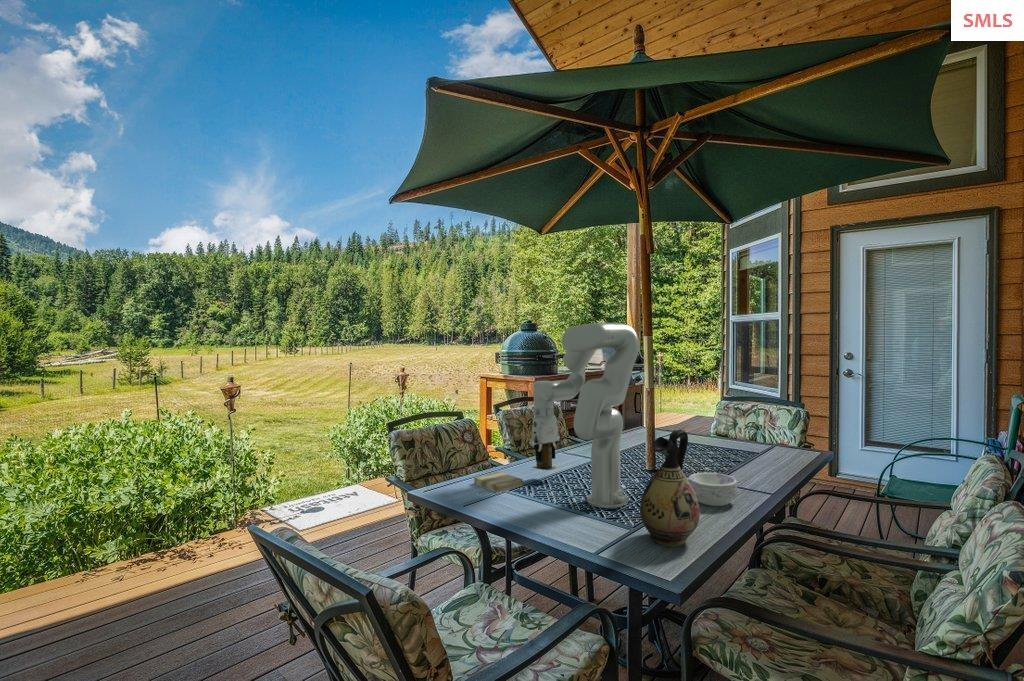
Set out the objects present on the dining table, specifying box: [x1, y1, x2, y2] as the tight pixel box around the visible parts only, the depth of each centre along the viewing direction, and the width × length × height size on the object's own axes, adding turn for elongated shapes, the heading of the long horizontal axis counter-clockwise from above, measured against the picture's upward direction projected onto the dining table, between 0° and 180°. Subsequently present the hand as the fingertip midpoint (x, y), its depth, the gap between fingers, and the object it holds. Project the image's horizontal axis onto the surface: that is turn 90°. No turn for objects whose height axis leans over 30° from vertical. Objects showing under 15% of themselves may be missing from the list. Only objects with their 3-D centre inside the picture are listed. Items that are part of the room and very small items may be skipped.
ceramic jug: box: [639, 429, 700, 548], centre depth 136 cm, size 17×15×30 cm
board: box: [473, 471, 524, 493], centre depth 186 cm, size 14×12×2 cm
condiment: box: [531, 443, 561, 471], centre depth 191 cm, size 7×8×12 cm
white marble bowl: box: [687, 472, 739, 507], centre depth 166 cm, size 15×15×8 cm
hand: (545, 459), depth 191 cm, fingers closed on condiment, 6 cm apart
